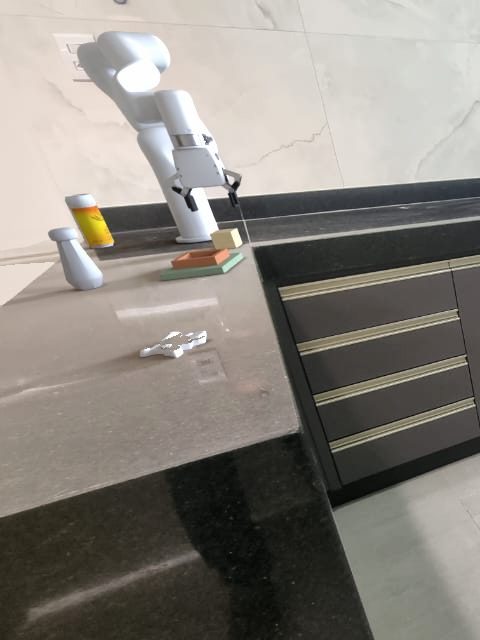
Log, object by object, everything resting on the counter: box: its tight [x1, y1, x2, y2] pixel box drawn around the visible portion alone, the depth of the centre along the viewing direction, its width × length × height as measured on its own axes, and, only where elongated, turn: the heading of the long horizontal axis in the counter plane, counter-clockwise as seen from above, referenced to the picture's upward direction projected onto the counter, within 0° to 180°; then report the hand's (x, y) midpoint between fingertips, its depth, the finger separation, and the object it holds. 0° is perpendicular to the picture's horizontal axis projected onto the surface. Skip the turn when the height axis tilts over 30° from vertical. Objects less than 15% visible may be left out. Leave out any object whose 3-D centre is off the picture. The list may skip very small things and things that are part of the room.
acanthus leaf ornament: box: [139, 330, 207, 359], centre depth 82 cm, size 8×7×2 cm
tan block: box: [210, 227, 243, 250], centre depth 150 cm, size 6×5×4 cm
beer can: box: [64, 193, 115, 249], centre depth 156 cm, size 6×6×15 cm
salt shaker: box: [47, 226, 104, 291], centre depth 114 cm, size 6×6×13 cm
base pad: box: [159, 248, 244, 282], centre depth 128 cm, size 16×12×4 cm
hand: (215, 209), depth 146 cm, fingers open, 9 cm apart
